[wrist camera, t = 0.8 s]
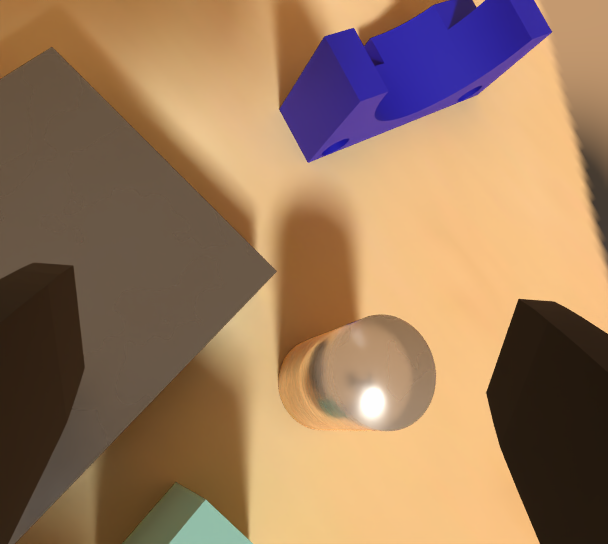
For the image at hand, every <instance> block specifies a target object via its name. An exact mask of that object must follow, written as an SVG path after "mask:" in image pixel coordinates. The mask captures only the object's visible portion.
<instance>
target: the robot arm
mask: <svg viewBox="0 0 608 544" xmlns="http://www.w3.org/2000/svg"><path fill="white" fill-rule="evenodd" d="M84 369H85V364H84V355H83V346H82V337H81V328H80V319H79V310H78V301H77V292H76V283H75V274H74V265H61V264H47V263H31V264H29V265H27V266H25V267H22V268H20V269H18V270H16V271H14V272H13V273H11V274H9V275H7V276H5V277H3V278H1V279H0V544H8V543H9V541H10V539H11V537H12V535H13V533H14V531H15V529H16V527H17V525H18V523H19V521H20V519H21V517H22V515H23V513H24V511H25V509H26V507H27V505H28V502H29V500H30V498H31V496H32V494H33V492H34V490H35V488H36V486H37V484H38V482H39V480H40V478H41V476H42V474H43V472H44V470H45V468H46V466H47V464H48V462H49V460H50V457H51V455H52V453H53V451H54V449H55V447H56V445H57V443H58V441H59V439H60V437H61V434H62V432H63V430H64V428H65V426H66V424H67V421H68V418H69V415H70V413H71V410H72V407H73V404H74V401H75V398H76V395H77V392H78V388H79V385H80V382H81V379H82V376H83V372H84ZM486 394H487V398H488V402H489V406H490V411H491V415H492V419H493V423H494V427H495V430H496V434H497V437H498V441H499V445H500V448H501V450H502V453H503V455H504V458H505V461H506V463H507V465H508V468H509V470H510V473H511V475H512V478H513V480H514V483H515V485H516V488H517V490H518V492H519V495H520V497H521V500H522V502H523V504H524V507H525V509H526V511H527V514H528V516H529V519H530V521H531V523H532V526H533V528H534V531H535V533H536V535H537V538H538V540H539V542H540V544H608V334H607V333H605V332H604V331H602V330H601V329H599V328H598V327H596V326H595V325H593V324H592V323H590V322H589V321H587V320H585V319H584V318H582V317H581V316H579V315H577V314H576V313H574V312H572V311H571V310H569V309H567V308H565V307H564V306H562V305H560V304H558V303H556V302H552V301H539V300H526V299H518V302H517V305H516V308H515V311H514V314H513V317H512V320H511V323H510V326H509V328H508V331H507V334H506V337H505V340H504V343H503V346H502V349H501V352H500V355H499V357H498V360H497V363H496V366H495V369H494V372H493V375H492V378H491V381H490V384H489V386H488V389H487V392H486Z"/></svg>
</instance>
